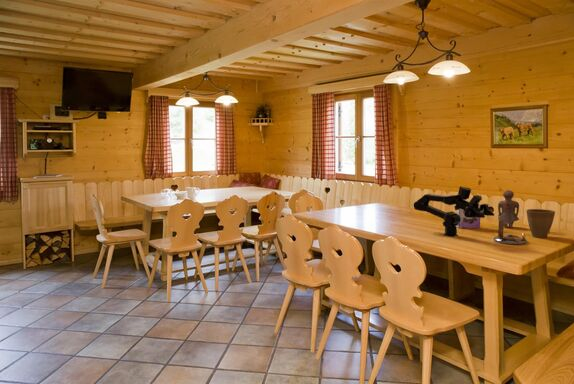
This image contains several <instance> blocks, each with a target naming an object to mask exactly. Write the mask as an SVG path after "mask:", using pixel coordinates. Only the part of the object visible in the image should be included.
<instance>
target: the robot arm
mask: <svg viewBox="0 0 574 384" xmlns="http://www.w3.org/2000/svg"><path fill="white" fill-rule="evenodd" d="M458 189H459V190H458V193H457V194H453V195H452V194H451V195H438V194H431V193H427V194H424V195H423V196H421V197H420V198H419V199H418V200H416V201H414V202H413V209H414V210H415V211H420V212H425V213H429V214H431V215H432V216H435V217H438V218H440V219H442V220H443V222H442V226H443V227H444V234H443V235H442V236H446V237H450V238H451V237H452V238H453V237H459V235H458V232H457V231H458V229H457V226H458V224H459V222H460V221H461V218H460V216H459V215H458V213H457V212H454V211H457V210H459V209H462V210H464V212H465V213H464V216H465V217H467V218H480V219H481V218H482V219H484V218H486V216H490V217H494V216H495V213H494V212H493V211H492V210H490V209H489V205H490V204H487V203H481V204H480V208H479V207H478V206H479V203H480V202H481V201H482V200H483V198H482V195H479V194H476V195H475V194H474V195H473V196H472V197H471V199H470V196H471V192H472V188H470V187H465V186H460V187H459V188H458ZM468 199H470V200H469V201H468ZM430 201H432V202H437V203H443V204H445V205H448V206H453V205H454V206H453V207H454V211H443V210H441V209H439V208H436V207H435V206H434V207H433V206H432V205H429V203H430Z"/></svg>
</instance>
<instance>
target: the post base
mask: <svg viewBox="0 0 574 384" xmlns="http://www.w3.org/2000/svg"><path fill="white" fill-rule="evenodd" d="M519 239H521V241H520V242H518V241H515V240H506V239H503V240H501V239H499V237H498V235H496V236H494V237H493V242H495V243H498V244H503V245H509V246H521V245H526V244H527V242H528V240H527V239H526V233H522V237H520V236H519Z"/></svg>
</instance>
